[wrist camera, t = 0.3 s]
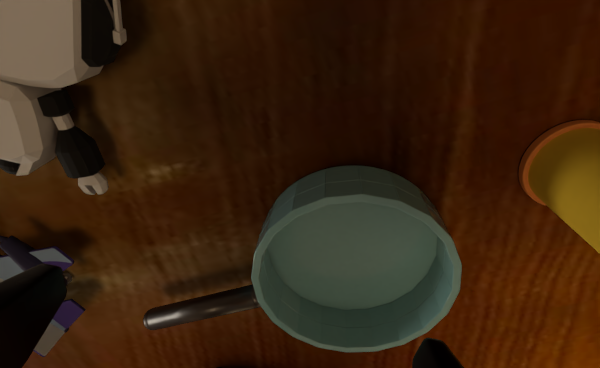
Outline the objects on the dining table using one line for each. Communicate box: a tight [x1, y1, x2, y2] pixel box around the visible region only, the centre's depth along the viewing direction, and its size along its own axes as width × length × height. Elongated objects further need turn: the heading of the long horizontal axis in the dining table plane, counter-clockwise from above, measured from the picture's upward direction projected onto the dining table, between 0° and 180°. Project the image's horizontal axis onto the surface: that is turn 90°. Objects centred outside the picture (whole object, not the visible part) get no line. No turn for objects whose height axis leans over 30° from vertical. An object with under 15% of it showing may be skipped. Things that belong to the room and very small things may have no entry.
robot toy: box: [0, 0, 127, 195], centre depth 18 cm, size 12×4×15 cm
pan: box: [251, 166, 462, 352], centre depth 23 cm, size 13×13×4 cm
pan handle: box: [143, 285, 261, 330], centre depth 25 cm, size 10×2×2 cm, turn 111°
